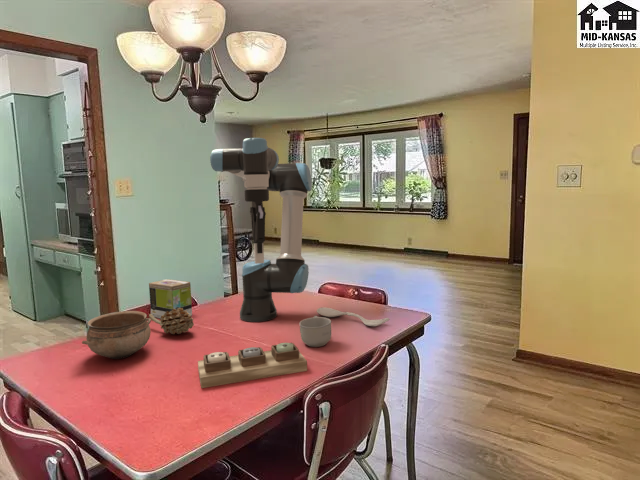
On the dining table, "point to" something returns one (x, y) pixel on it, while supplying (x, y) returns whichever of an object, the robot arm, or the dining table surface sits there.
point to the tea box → (169, 296)
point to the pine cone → (175, 321)
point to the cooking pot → (118, 334)
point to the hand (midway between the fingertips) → (259, 262)
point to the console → (250, 366)
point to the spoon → (333, 313)
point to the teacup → (315, 331)
